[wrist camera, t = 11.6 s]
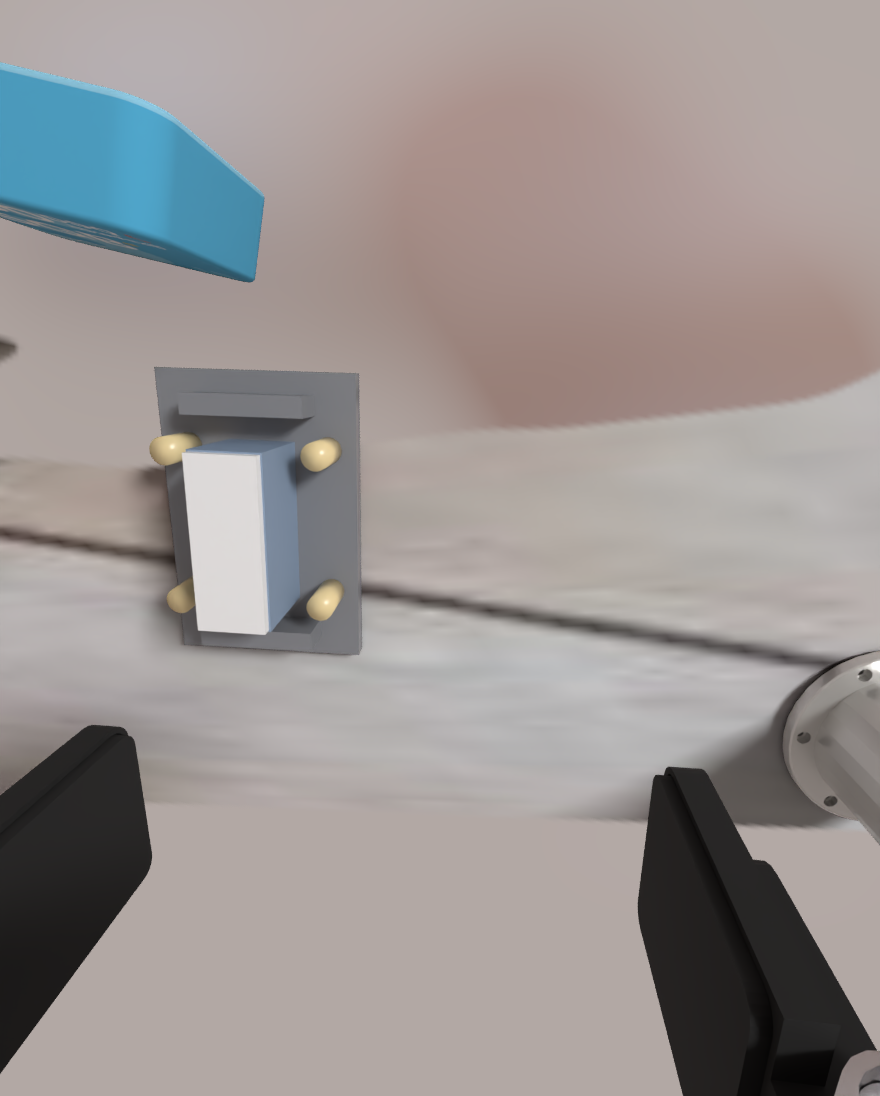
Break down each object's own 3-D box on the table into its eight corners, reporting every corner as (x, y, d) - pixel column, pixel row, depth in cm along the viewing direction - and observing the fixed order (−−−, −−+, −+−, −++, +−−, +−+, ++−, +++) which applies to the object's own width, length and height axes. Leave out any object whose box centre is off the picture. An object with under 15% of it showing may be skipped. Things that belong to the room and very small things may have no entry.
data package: (61, 238, 33) (-165, 162, 21) (63, 149, 31) (-176, 17, 20) (263, 286, 33) (146, 236, 21) (274, 200, 31) (156, 97, 20)
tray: (359, 373, 34) (343, 372, 30) (361, 648, 39) (349, 677, 35) (163, 367, 34) (123, 365, 31) (191, 638, 40) (160, 665, 36)
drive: (294, 441, 34) (257, 454, 28) (300, 596, 37) (267, 636, 31) (229, 438, 34) (179, 450, 29) (240, 593, 37) (196, 632, 32)
